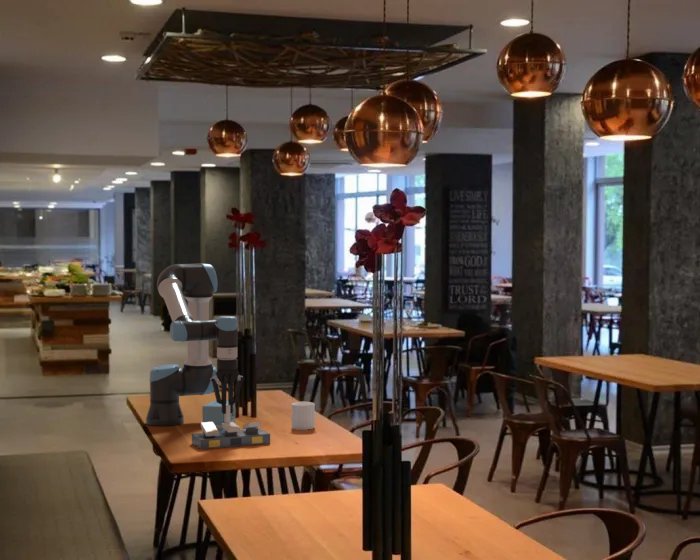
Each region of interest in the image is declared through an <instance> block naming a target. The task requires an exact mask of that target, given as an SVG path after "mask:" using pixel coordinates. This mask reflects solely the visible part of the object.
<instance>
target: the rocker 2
mask: <svg viewBox="0 0 700 560" xmlns="http://www.w3.org/2000/svg"><path fill="white" fill-rule="evenodd" d="M222 428H223V429H225V430H226V431H227V432H240V430H241V427H240V426H239V425H238V424H237V423H236V422H235V423H234V422H230V423H222Z"/></svg>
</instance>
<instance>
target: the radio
mask: <svg viewBox="0 0 700 560" xmlns="http://www.w3.org/2000/svg"><path fill="white" fill-rule="evenodd" d="M217 385H218V389H219V390H220V381H219V379H217ZM226 404H229V403H228V399H226ZM201 408H202V413H201V414H202V422H213V423H214V425H215V426H216V428H217V430H218V431H219V432H220V431H225V429H223V428H222V423H226V422H224V414H223V413H222V405H221V404H219V403H217V401H216V399H215V400H213V401H211V402H208V403H206V404H204V405H202V407H201ZM236 410H237V409H236V403H234V404H233V413H230V422H234V423H235V424H236V413H237V411H236Z"/></svg>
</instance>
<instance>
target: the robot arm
mask: <svg viewBox="0 0 700 560" xmlns="http://www.w3.org/2000/svg"><path fill="white" fill-rule="evenodd" d="M218 285H219V283H218V276H217V273H216V270H215V268H214V266H213V265H212V264H210V263H182V264H181V263H175V264H171V265H169V266H167V267H166V268H165V269H163V270H162V271H161V272H160V274H159V275H158V278H157V282H156V288H157V291H158V294H159V295H160V296H161V298H163V301H164V302H165V305H166V307H167V308H166V309H167V311H168V313H169V316H170V319H171V321H172V322H171V324H170V325H169V333H170V339H171V340H172V341H173V342H183V343H184V342H187V350H186V351H187V352H186V353H187V358H186V359H185V360H184V362H183V367H180V365H179V364H176V363H172V364H163V365H159V366H155V367H152V369H150V372H149V408H148V411H147V413H146V417H145V424H146V425H149V426H153V427H154V426H156V427H157V426H159V427H161V426H162V427H163V426H164V427H165V426H177V425H181V424H183V423H185V420H184V419H185V418H184V414H183V411H182V408H181V405H180V397H185V396H186V397H187V396H203V395H210V394H212V393H213V392H214V396H215V400H216V401H217V403H219V404H221V405H222V413H223V414H224V422H226V423H230V413H233V404H234V403H235V404H237V403H239V398H240V394H241V388H242V385H243V382H244V381H245V379H246V378H245V376H243V375H240V373H239V370H238V366H239V365H238V359H237V358H238V332H239V331H238V328H239V325H238V318H237V317H236V316H233V315H232V316H230V315H221V316H218V317H217V318H214V319H210V301H211V299H213V297H214V293H215V292H217V291H218ZM209 341H216V358H217V359H216V366H215V365H213V362H212V360H211V359H210V358H209V356H210V355H209V350H210V348H209ZM218 380H219V383H220V386H221V390H220V388H219V389H218ZM236 381H237V382H236ZM234 382H236V385H235V384H234ZM234 385H235V389H234ZM220 391H221V393H220ZM227 391H228V392H227ZM227 396H228V397H227ZM226 400H228V403H229V404H226Z"/></svg>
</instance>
